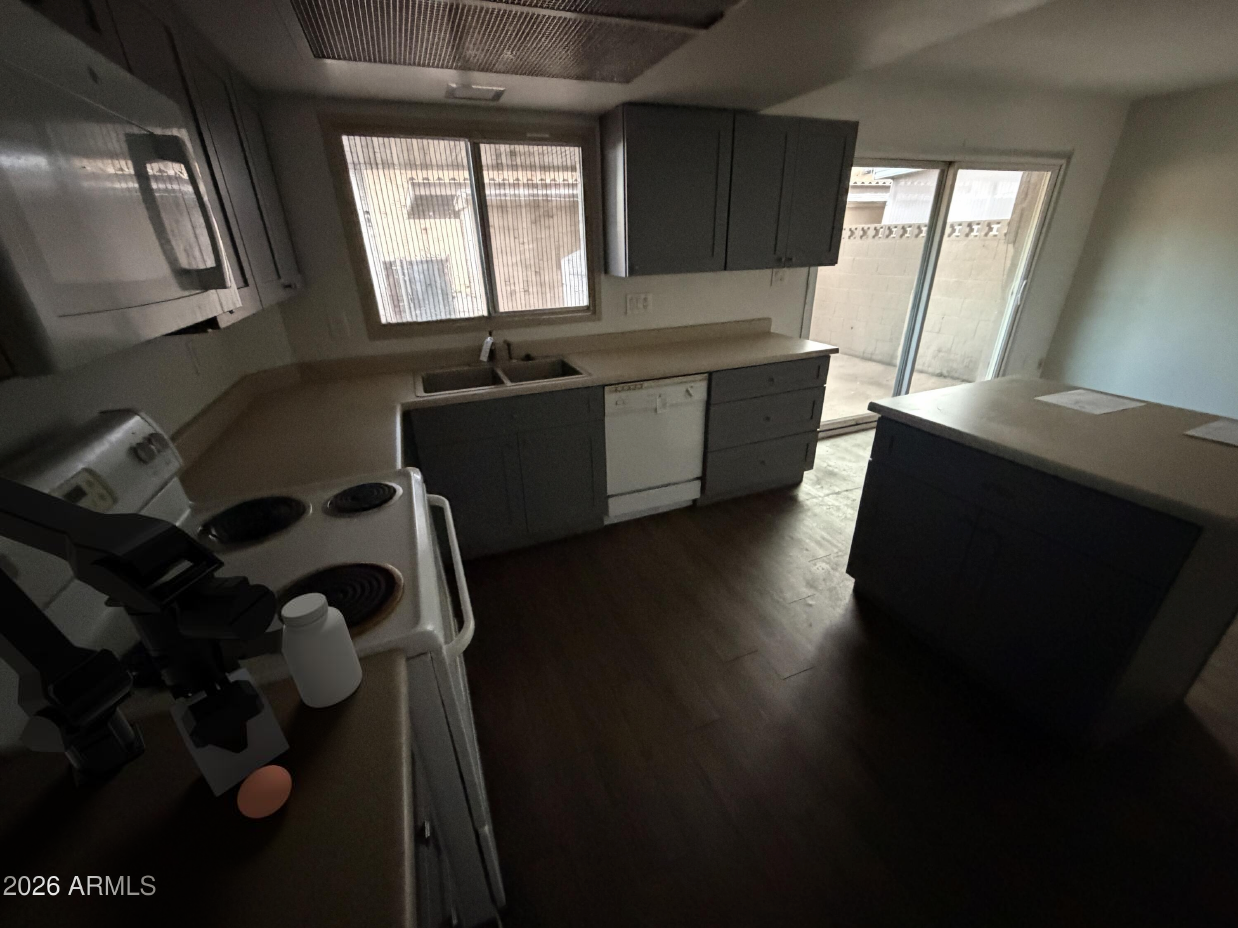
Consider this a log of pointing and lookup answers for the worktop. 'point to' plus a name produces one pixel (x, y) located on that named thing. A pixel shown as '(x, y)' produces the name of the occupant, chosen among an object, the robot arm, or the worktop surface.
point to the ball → (264, 791)
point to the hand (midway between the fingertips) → (231, 731)
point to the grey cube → (227, 765)
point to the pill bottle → (319, 651)
